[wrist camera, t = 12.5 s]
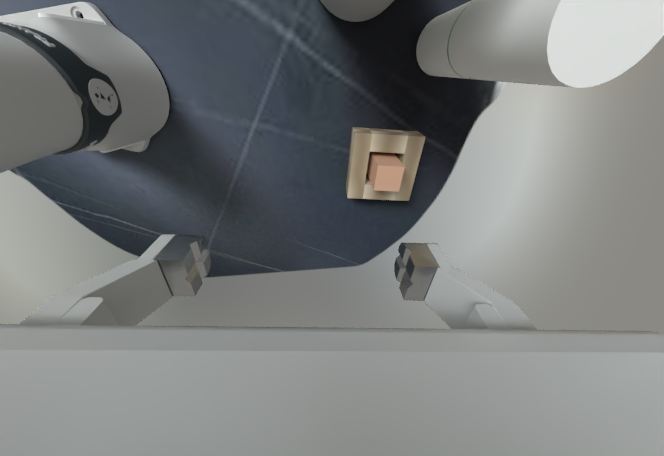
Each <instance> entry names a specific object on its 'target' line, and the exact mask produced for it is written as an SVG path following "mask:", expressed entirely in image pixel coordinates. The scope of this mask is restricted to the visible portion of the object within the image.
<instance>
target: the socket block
mask: <svg viewBox="0 0 664 456" xmlns="http://www.w3.org/2000/svg"><path fill="white" fill-rule="evenodd" d="M425 138H426V137H425V136H423V135H422V134H420V133H419V132H418V131H403V130H388V129H372V128H357V127H352V135H351V145H350V154H349V164H348V174H347V183H346V192H347V198H357V199H377V200H398V201H409V198H410V195H411V191H412V187H413V183H414V179H415V176H416V172H417V168H418V164H419V160H420V157H421V153H422V149H423V145H424V141H425ZM370 152H386V153H397V155H396V156H397V158H398V159H399V160H400V161H401V163H402V164H403V165H404V166H405V168H404V173H403V177H402V181H401V185H400V190H399V192H395V191H376V190H373V187H372V185H371V182H370V180H369V177H368V176H366V173H367V166H368V160H369V153H370Z"/></svg>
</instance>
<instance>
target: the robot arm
mask: <svg viewBox="0 0 664 456" xmlns="http://www.w3.org/2000/svg"><path fill="white" fill-rule="evenodd" d="M80 13H82V15H83V19H82V18H81V16H80ZM168 114H169V96H168V91H167V88H166V85H165V82H164V80H163V78H162V75H161V74H160V72H159V70H158V68H157V67H156V65H155V64H154V62H153V61H152V60H151V58H150V57H149V56H148V55H147V54H146V53H145V52H144V50H143V49H141V48H140V47H139V46H138V45H137V44H136V43H135V42H134V41H132V40H131V39H130V38H128V37H127V36H125V35H124V34H122V33H121V32H120V31H118V30H117V29H116V28H115V27H114V26H113V25H112V24H111V22H110V21H109V20H108V19H107V17H106V16H105V15H104V14H103V13H102V12H101V11H100V10H99V9H98V8H97V7H96V6H95V5H94V4H92V3H89V2H76V3H71V4H65V5H59V6H54V7H48V8H43V9H37V10H32V11H26V12H21V13H15V14H10V15H4V16H0V173H2V172H5V171H7V170H10V169H12V168H15V167H18V166H20V165H23V164H26V163H28V162H31V161H34V160H37V159H40V158H42V157H45V156H48V155H51V154H67V153H73V152H78V151H82V150H86V151H95V150H97V151H100V152H101V153H107V152H111V151H115V150H118V149H125V150H130V151H134V152H141V151H145V150H146V149H147V147H148V145H149V142H150V138H151V137H152V136H153V135H154V134H156V133H157V132H158V131H159V130H160V129H161V128H162V127H163V126H164V124H165V123H166V121H167V118H168ZM206 246H207V242H206V239H205V237H203V236H196V235H176V234H163V235H161V236H160V237H159V238H158V239H157V240H156V241H155V242H154V243H153V244H152V245H151V246H150V247H149V248H148V249H147V250H146V251H145V252H144V253H143V254H142V255H141V256H140V257H139V259H138V260H131V261H129V262H126V263H124V264H122V265H120V266H118V267H115V268H113V269H111V270H109V271H106V272H104V273H102V274H100V275H97V276H95V277H93V278H91V279H89V280H87V281H84V282H82V283H80V284H77V285H75V286H73V287H71V288H68V289H66V290H64V291H62V292H60V293H57V294H55V295H53V296H52V297H51V298H50V299H48V300H47V301H46V302H45V303H44V304H42V305H41V306H40V307H39V308H38V309H37V310H35V311H34V312H33V313H32V314H31V315H29V316H28V317H27V318H26V319H25V320H24V321H22V322H21V323H20V324H0V456H664V334H662V333H658V332H651V331H593V330H591V331H590V330H537V329H536V328H535V327H534V325H533V324H532V323H531V322H530V320H529V319H528V318H527V317H526V316H525V314H524V313H523V312H522V311H521V309H520V308H519V307H518V306H517V304H515V303H514V302H512V301H510V300H509V299H507V298H506V297H504V296H502V295H500V294H499V293H497V292H496V291H494V290H492V289H491V288H489V287H487V286H486V285H484V284H483V283H481V282H479V281H478V280H476V279H474V278H473V277H471V276H469V275H468V274H466V273H465V272H463V271H461V270H460V269H458V268H454V267H453V266H452V264H451V263H450V261H449V260H448V258H447V257H446V256H445V254H444V252H443V251H442V249H441V248H440V246H439V245H438V244H437V243H401V245H400V246H399V250H398V251H399V253H400V255H399V256H398V257H397V258H396V261H395V276H396V279H397V280H398V281H399V282H400V283H401V284H400V290H401V293H402V296H403V299H404V300H418V301H424V302H425V303H426V304H427V305H428V306H429V307H430V308H431V309H432V310H433V311H434V312H435V313H436V314H437V315H438V316H439V317H440V318H441V319H442V320H443V321H444V322H445V323H446V324H447V325H448V326H449V327H450V328H451V329H398V328H316V327H219V326H216V327H215V326H135V325H137V324H138V323H139V322H141V321H142V320H143V319H145V318H146V317H147V316H149V315H150V314H151V313H152V312H154V311H155V310H156V309H158V308H159V307H160V306H162V305H163V304H164V303H166V302H167V301H168V300H169V299H171V298H172V296H195V295H196V294H197V292H198V290H199V288H200V287H201V285H202V280H201V279H202V278H203V277H205V276H206V275H207V274H208V272H209V270H210V266H211V256H210V253H209V252H208V251H207V250H206V249H205V247H206Z"/></svg>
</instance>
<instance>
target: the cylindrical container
mask: <svg viewBox="0 0 664 456" xmlns="http://www.w3.org/2000/svg"><path fill="white" fill-rule="evenodd" d="M663 35H664V0H472V1H470V2H468V3H465V4H463V5H461V6H459V7H457V8H455V9H452V10H450V11H448V12H446V13H444V14H441V15H439V16H437V17H435V18H434V19H432V20H431V21H430V22H429V23H428V24H427V25H426V26H425V28H424V29H423V31H422V32H421V34H420V36H419V39H418V42H417V48H416V57H417V61H418V64H419V66H420V68H421V69H422V70H423V71H424V72H425V73H426V74H428V75H431V76H439V77H452V78H464V79H477V80H489V81H501V82H514V83H526V84H538V85H551V86H563V87H578V88H585V87H591V86H596V85H599V84H602V83H604V82H607V81H609V80H611V79H613V78H615V77H617V76H619V75H620V74H622V73H624V72H625V71H626V70H628V69H629V68H631V67H632V66H633V65H635V64H636V63H637V62H638V61H639V60H640V59H642V58H643V57H644V56H645V55H646V54H647V53H648V52H649V51H650V50H651V49H652V48H653V47H654V46H655V45H656V43H657V42H658V41H659V40H660V39H661V38H662V36H663Z"/></svg>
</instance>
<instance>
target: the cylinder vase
mask: <svg viewBox="0 0 664 456" xmlns="http://www.w3.org/2000/svg"><path fill="white" fill-rule="evenodd" d="M320 1H321V2H322V4H323V5H324V6H325V7H326V8H327V9H328V10H329V11H330V12H331V13H332V14H334V15H335V16H337V17H339V18H341V19H343V20H346V21H351V22H361V21H366V20H369V19H371V18H373V17H375V16H377V15H379V14H380V13H381V12H383V11H384V10H385V9H386V8H387V7H388V6H389V5H390V4H391V3H392V2H393V1H394V0H320Z"/></svg>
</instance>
